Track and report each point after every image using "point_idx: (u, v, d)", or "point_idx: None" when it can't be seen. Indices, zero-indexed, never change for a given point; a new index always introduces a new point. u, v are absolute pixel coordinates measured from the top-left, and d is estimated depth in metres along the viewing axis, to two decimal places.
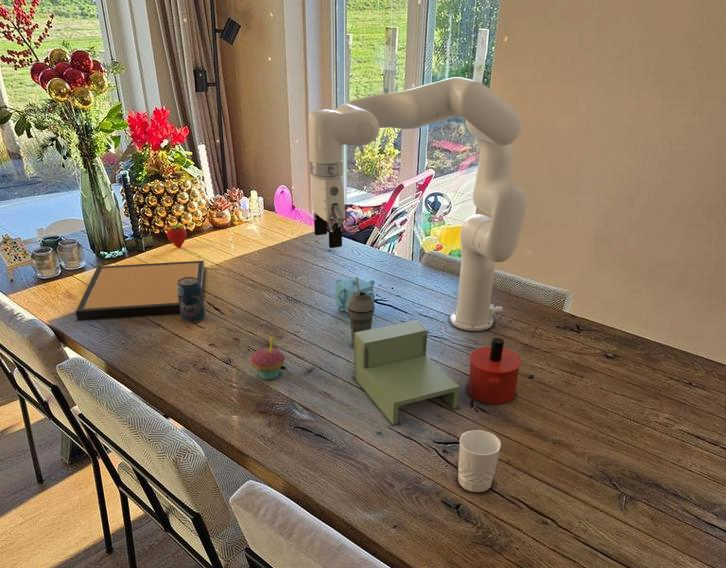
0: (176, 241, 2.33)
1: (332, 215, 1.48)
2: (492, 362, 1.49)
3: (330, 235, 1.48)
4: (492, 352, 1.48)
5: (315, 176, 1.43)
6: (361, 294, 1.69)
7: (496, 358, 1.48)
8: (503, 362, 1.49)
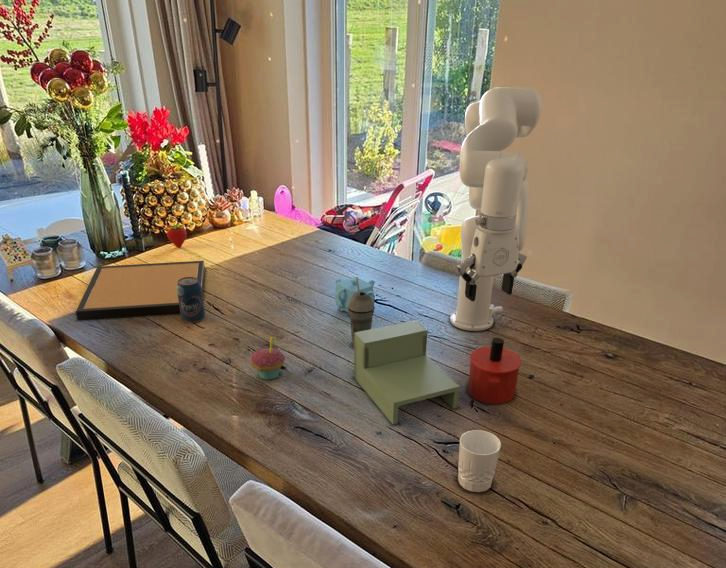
0: (176, 241, 2.33)
1: None
2: (492, 362, 1.49)
3: None
4: (492, 352, 1.48)
5: None
6: (361, 294, 1.69)
7: (496, 358, 1.48)
8: (503, 362, 1.49)
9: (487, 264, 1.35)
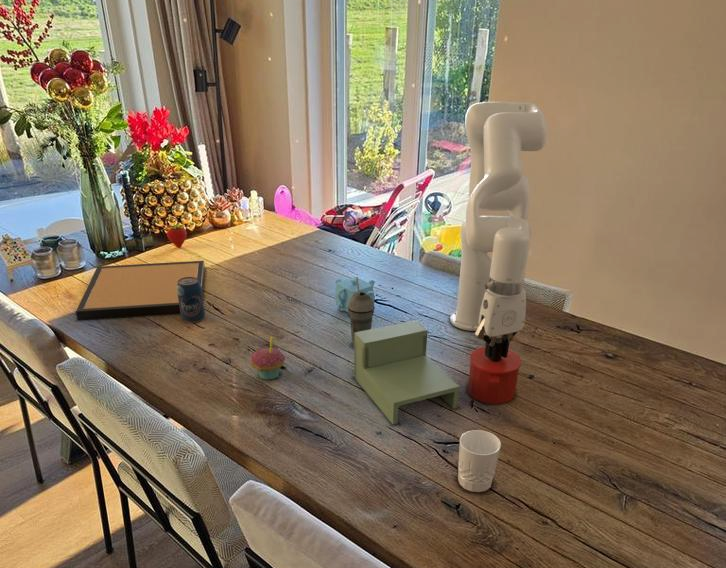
0: (176, 241, 2.33)
1: None
2: (492, 362, 1.49)
3: None
4: None
5: None
6: (361, 294, 1.69)
7: (496, 358, 1.48)
8: (503, 362, 1.49)
9: (496, 325, 1.41)
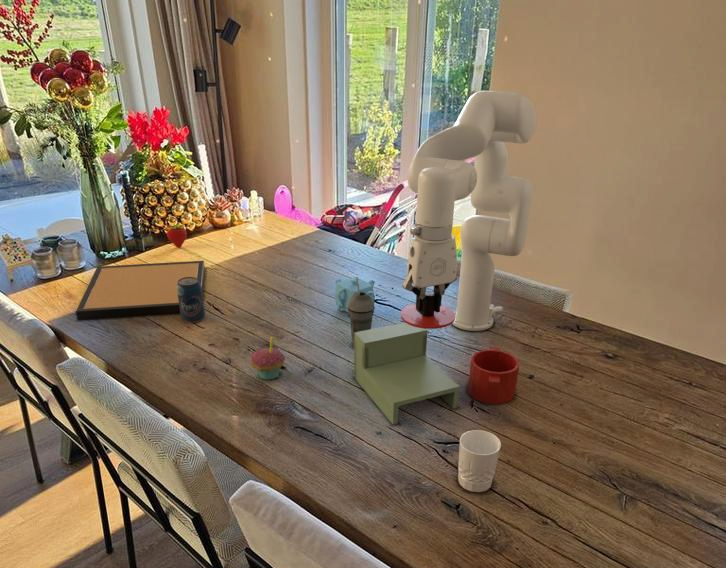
0: (176, 241, 2.33)
1: None
2: (424, 317, 1.39)
3: None
4: None
5: None
6: (361, 294, 1.69)
7: (428, 313, 1.38)
8: (435, 317, 1.39)
9: (424, 275, 1.31)
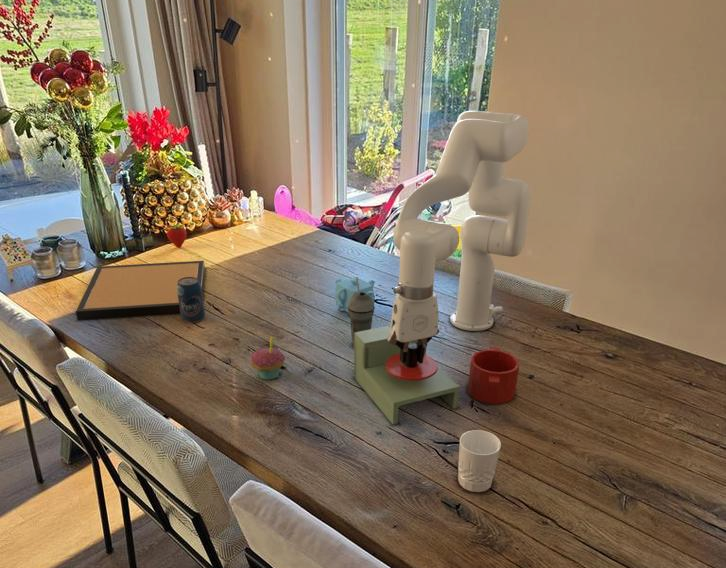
0: (176, 241, 2.33)
1: None
2: (407, 368, 1.45)
3: None
4: None
5: None
6: (361, 294, 1.69)
7: (411, 364, 1.45)
8: (419, 368, 1.45)
9: (406, 330, 1.38)
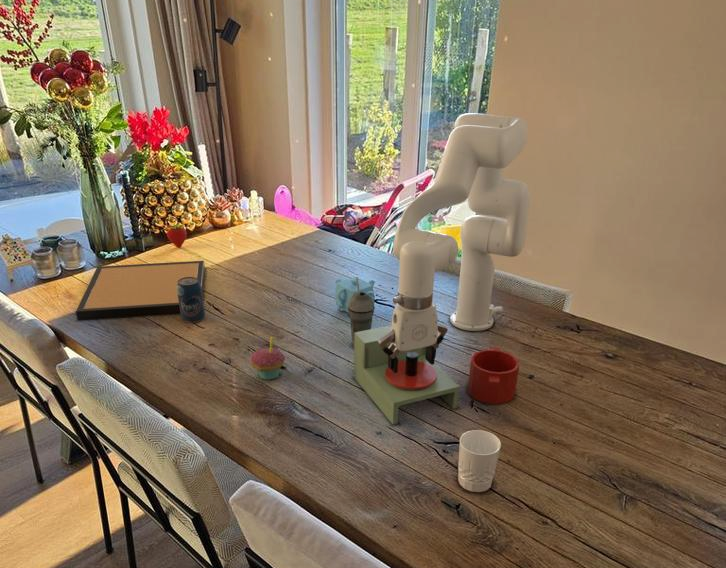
0: (176, 241, 2.33)
1: None
2: (407, 377, 1.46)
3: None
4: (407, 366, 1.46)
5: None
6: (361, 294, 1.69)
7: (411, 373, 1.46)
8: (418, 377, 1.46)
9: (406, 340, 1.39)
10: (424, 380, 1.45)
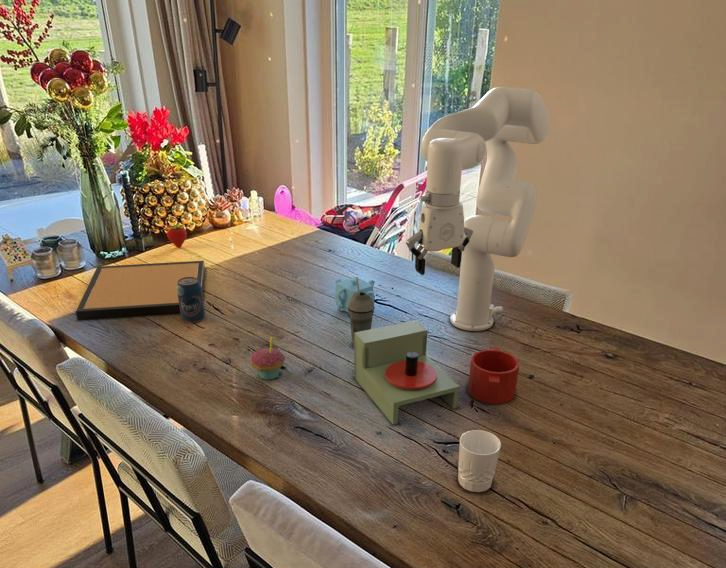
0: (176, 241, 2.33)
1: None
2: (407, 377, 1.46)
3: None
4: (407, 366, 1.46)
5: None
6: (361, 294, 1.69)
7: (411, 373, 1.46)
8: (418, 377, 1.46)
9: (434, 239, 1.42)
10: (424, 380, 1.45)
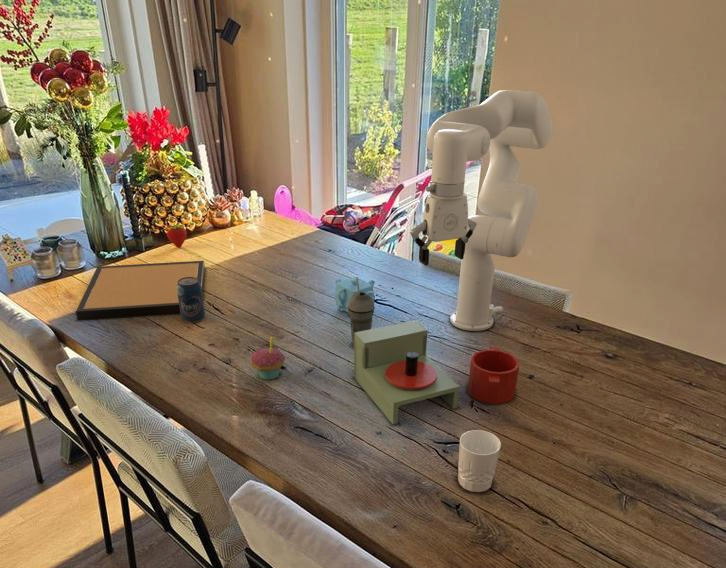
0: (176, 241, 2.33)
1: None
2: (407, 377, 1.46)
3: None
4: (407, 366, 1.46)
5: None
6: (361, 294, 1.69)
7: (411, 373, 1.46)
8: (418, 377, 1.46)
9: (438, 229, 1.43)
10: (424, 380, 1.45)
